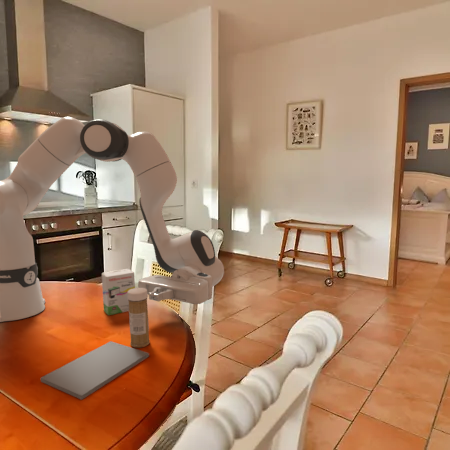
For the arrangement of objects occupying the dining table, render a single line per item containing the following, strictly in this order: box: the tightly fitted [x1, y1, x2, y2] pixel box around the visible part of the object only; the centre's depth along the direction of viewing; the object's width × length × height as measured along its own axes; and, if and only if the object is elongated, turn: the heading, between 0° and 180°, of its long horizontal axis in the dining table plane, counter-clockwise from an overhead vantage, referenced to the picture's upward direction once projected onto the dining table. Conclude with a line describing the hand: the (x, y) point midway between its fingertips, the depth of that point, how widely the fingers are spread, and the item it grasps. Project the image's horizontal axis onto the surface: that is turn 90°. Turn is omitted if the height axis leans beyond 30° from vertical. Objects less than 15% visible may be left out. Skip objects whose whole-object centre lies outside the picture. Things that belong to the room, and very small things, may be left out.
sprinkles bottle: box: [128, 287, 151, 349], centre depth 87 cm, size 5×5×13 cm
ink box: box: [101, 268, 136, 316], centre depth 109 cm, size 8×5×12 cm, turn 123°
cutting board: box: [40, 340, 150, 400], centre depth 77 cm, size 18×12×1 cm, turn 150°
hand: (153, 297), depth 91 cm, fingers closed
